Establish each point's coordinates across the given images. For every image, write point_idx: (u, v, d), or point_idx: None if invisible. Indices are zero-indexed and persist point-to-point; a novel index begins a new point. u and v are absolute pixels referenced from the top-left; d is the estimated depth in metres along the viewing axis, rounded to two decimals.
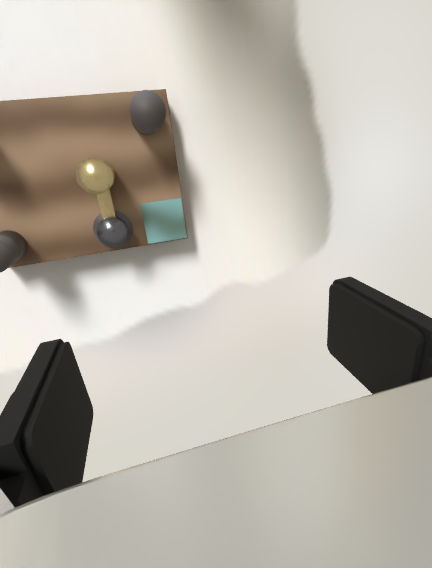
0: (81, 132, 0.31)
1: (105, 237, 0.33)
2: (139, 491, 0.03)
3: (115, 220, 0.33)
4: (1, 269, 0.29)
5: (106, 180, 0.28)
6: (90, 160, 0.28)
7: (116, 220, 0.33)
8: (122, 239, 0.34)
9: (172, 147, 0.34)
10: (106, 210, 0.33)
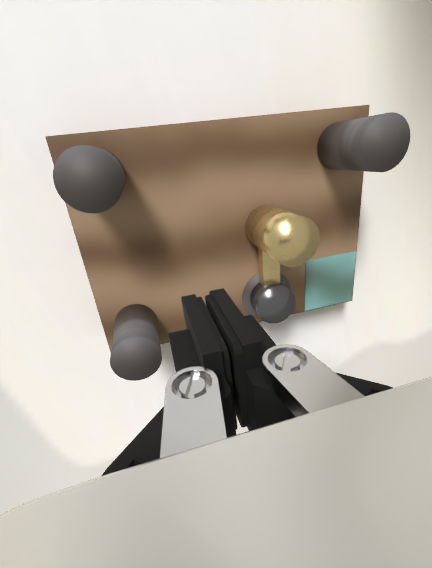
0: (250, 168, 0.21)
1: (267, 312, 0.24)
2: (139, 491, 0.03)
3: (284, 289, 0.23)
4: (147, 374, 0.20)
5: (310, 247, 0.19)
6: (296, 219, 0.18)
7: (285, 289, 0.23)
8: (287, 313, 0.24)
9: (360, 185, 0.24)
10: (271, 274, 0.24)
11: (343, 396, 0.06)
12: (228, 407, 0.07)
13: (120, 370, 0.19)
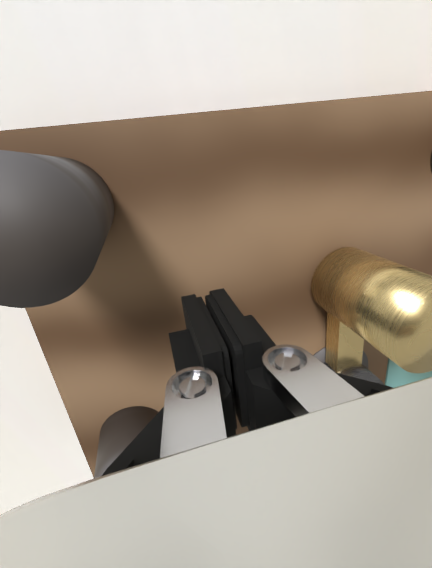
0: (325, 189, 0.13)
1: None
2: (139, 491, 0.03)
3: (371, 379, 0.15)
4: None
5: None
6: None
7: (373, 379, 0.15)
8: None
9: None
10: (349, 354, 0.15)
11: (343, 396, 0.06)
12: (228, 407, 0.07)
13: None
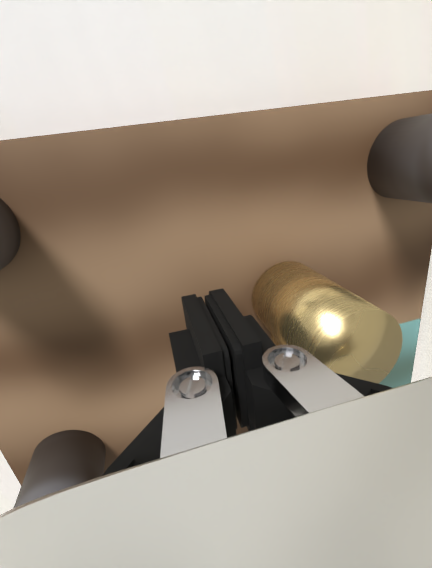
0: (254, 203, 0.12)
1: None
2: (139, 491, 0.03)
3: None
4: None
5: (383, 363, 0.10)
6: (362, 316, 0.09)
7: None
8: None
9: None
10: None
11: (343, 396, 0.06)
12: (228, 407, 0.07)
13: None
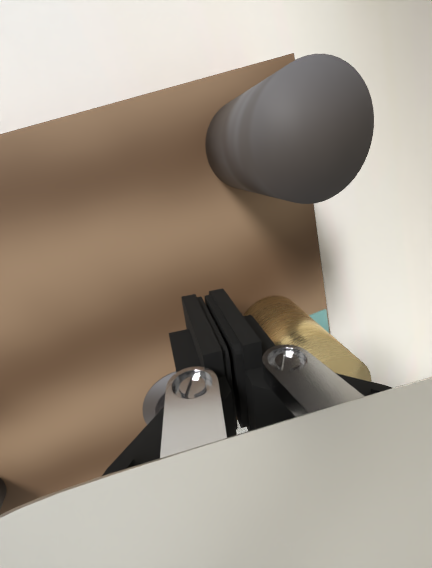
0: (82, 219, 0.11)
1: None
2: (139, 491, 0.03)
3: None
4: None
5: None
6: (361, 368, 0.10)
7: None
8: None
9: (309, 205, 0.13)
10: None
11: (343, 396, 0.06)
12: (228, 407, 0.07)
13: None
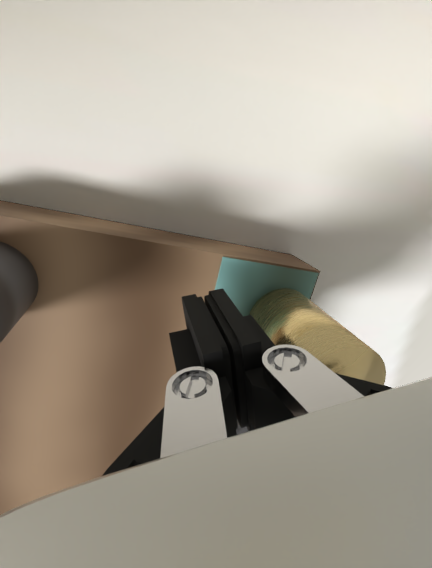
0: (10, 424, 0.13)
1: None
2: (139, 491, 0.03)
3: None
4: None
5: None
6: (364, 352, 0.10)
7: None
8: None
9: (84, 235, 0.11)
10: None
11: (343, 396, 0.06)
12: (229, 407, 0.07)
13: None
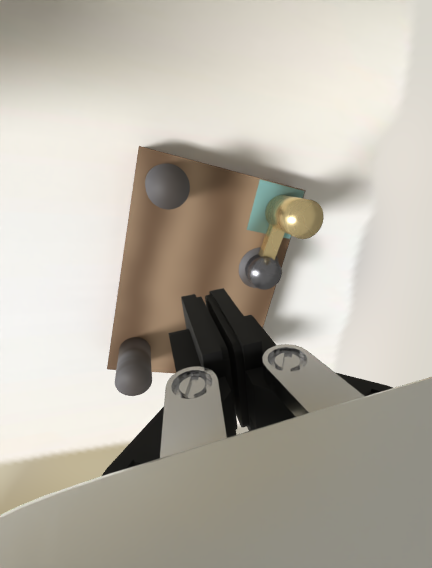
0: (159, 259, 0.29)
1: (257, 276, 0.29)
2: (139, 491, 0.03)
3: (276, 264, 0.29)
4: None
5: (313, 228, 0.25)
6: (312, 202, 0.24)
7: (277, 264, 0.29)
8: (271, 285, 0.30)
9: (202, 165, 0.27)
10: (271, 249, 0.29)
11: (343, 396, 0.06)
12: (228, 407, 0.07)
13: None
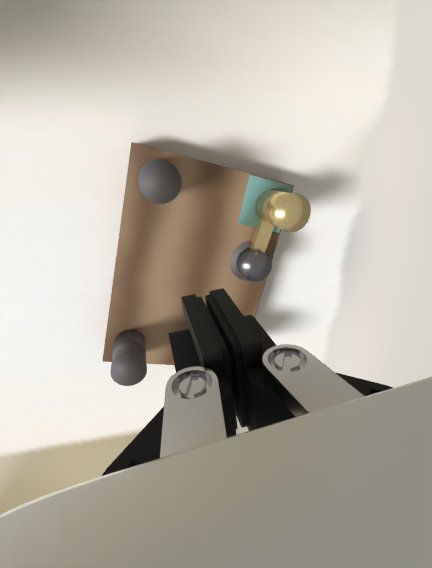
0: (152, 252, 0.29)
1: (248, 269, 0.30)
2: (139, 491, 0.03)
3: (266, 256, 0.30)
4: None
5: (301, 222, 0.26)
6: (299, 197, 0.25)
7: (267, 257, 0.30)
8: (261, 277, 0.31)
9: (194, 161, 0.27)
10: (261, 242, 0.30)
11: (343, 396, 0.06)
12: (228, 407, 0.07)
13: None
